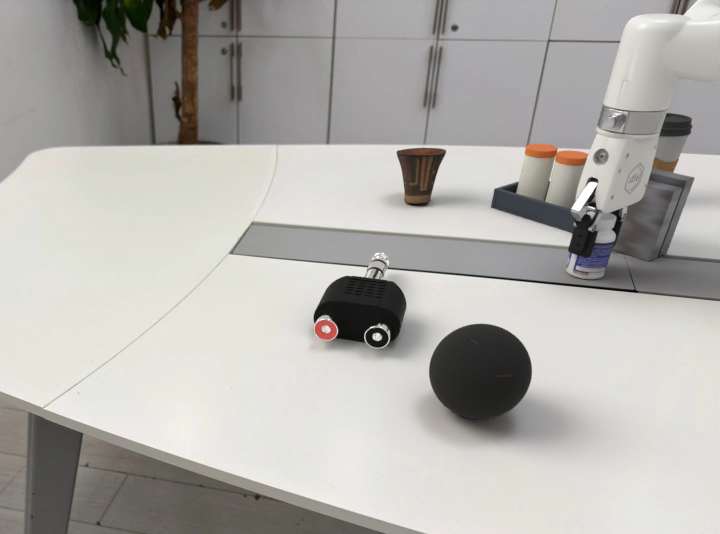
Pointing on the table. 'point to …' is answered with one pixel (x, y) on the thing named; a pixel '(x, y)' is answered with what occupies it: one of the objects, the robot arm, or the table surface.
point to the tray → (533, 207)
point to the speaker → (480, 371)
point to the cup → (419, 172)
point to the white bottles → (539, 173)
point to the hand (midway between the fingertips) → (591, 248)
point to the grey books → (654, 216)
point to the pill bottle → (595, 251)
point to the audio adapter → (362, 307)
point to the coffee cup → (671, 141)
